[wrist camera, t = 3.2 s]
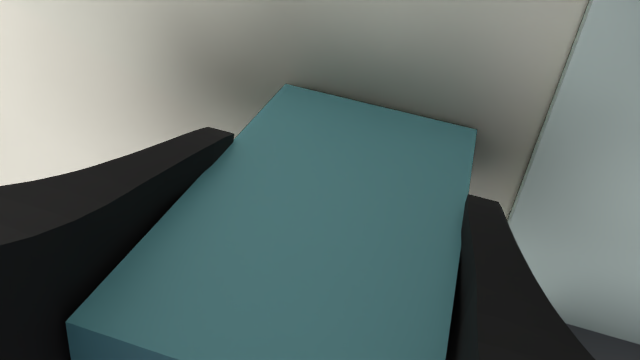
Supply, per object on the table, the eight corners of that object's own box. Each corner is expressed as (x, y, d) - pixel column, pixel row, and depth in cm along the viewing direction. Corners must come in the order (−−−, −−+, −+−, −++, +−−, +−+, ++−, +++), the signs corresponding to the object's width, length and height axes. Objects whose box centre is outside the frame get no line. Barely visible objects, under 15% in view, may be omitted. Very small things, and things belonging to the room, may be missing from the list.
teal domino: (285, 83, 15) (65, 321, 8) (477, 129, 14) (434, 445, 7) (279, 137, 16) (77, 397, 9) (460, 183, 15) (406, 516, 8)
